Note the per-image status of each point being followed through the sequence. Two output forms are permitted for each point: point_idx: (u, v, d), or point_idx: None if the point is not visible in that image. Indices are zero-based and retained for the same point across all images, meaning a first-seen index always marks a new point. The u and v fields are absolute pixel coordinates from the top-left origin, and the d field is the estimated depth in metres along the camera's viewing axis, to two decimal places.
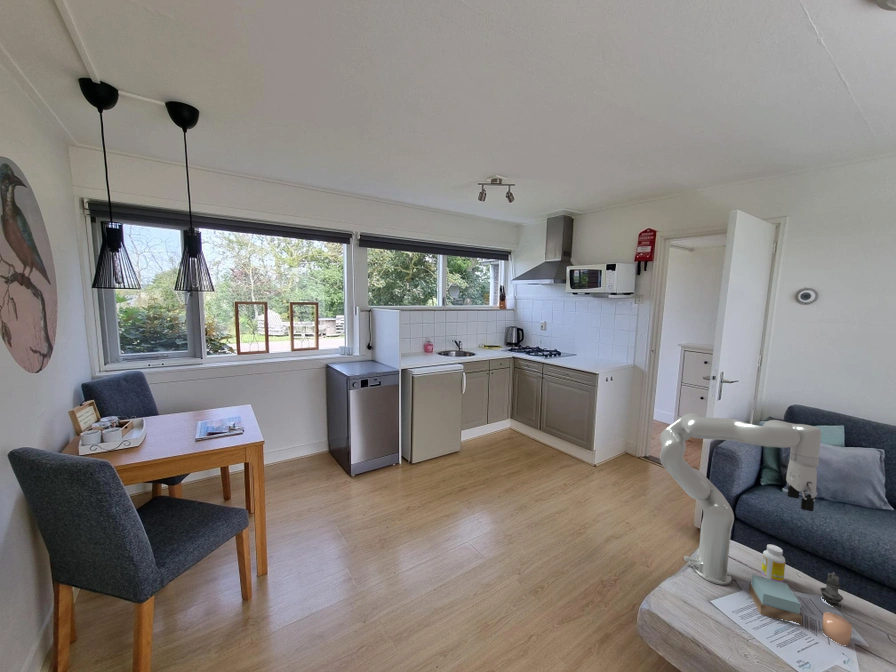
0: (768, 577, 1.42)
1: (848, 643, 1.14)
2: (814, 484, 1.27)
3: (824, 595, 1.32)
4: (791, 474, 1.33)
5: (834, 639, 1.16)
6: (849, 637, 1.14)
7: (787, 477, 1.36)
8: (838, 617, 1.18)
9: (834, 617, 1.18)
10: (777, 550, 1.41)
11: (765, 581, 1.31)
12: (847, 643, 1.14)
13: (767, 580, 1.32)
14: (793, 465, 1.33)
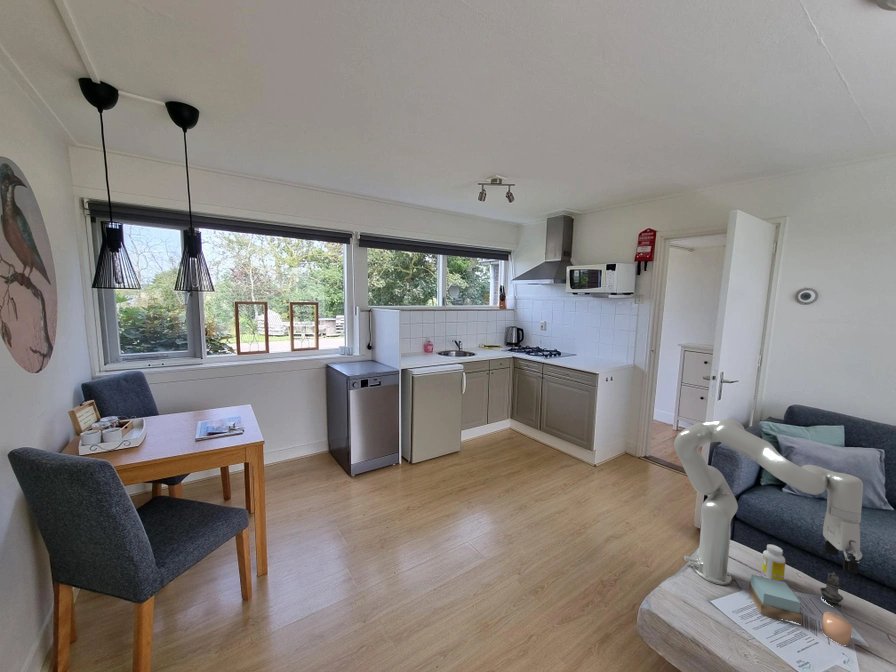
0: (768, 577, 1.42)
1: (848, 643, 1.14)
2: (858, 543, 1.12)
3: (824, 595, 1.32)
4: (829, 529, 1.19)
5: (834, 639, 1.16)
6: (849, 637, 1.14)
7: (824, 531, 1.22)
8: (838, 617, 1.18)
9: (834, 617, 1.18)
10: (777, 550, 1.41)
11: (765, 581, 1.31)
12: (847, 643, 1.14)
13: (766, 579, 1.32)
14: (831, 519, 1.18)
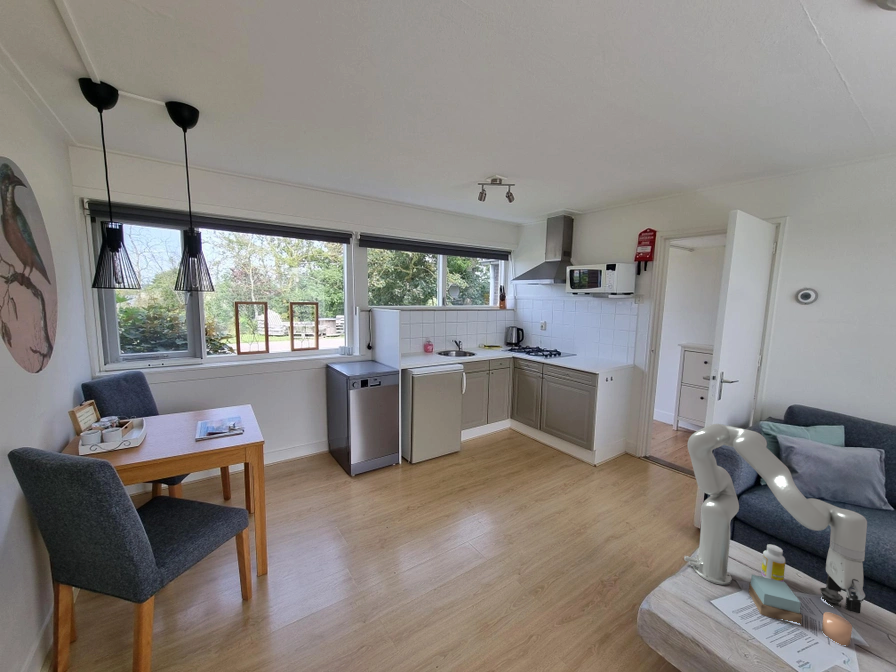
0: (768, 577, 1.42)
1: (848, 643, 1.14)
2: (861, 582, 1.11)
3: (824, 595, 1.32)
4: (832, 566, 1.18)
5: (834, 639, 1.16)
6: (849, 637, 1.14)
7: (827, 567, 1.20)
8: (838, 617, 1.18)
9: (834, 617, 1.18)
10: (777, 550, 1.41)
11: (765, 581, 1.31)
12: (847, 643, 1.14)
13: (766, 579, 1.32)
14: (834, 556, 1.17)
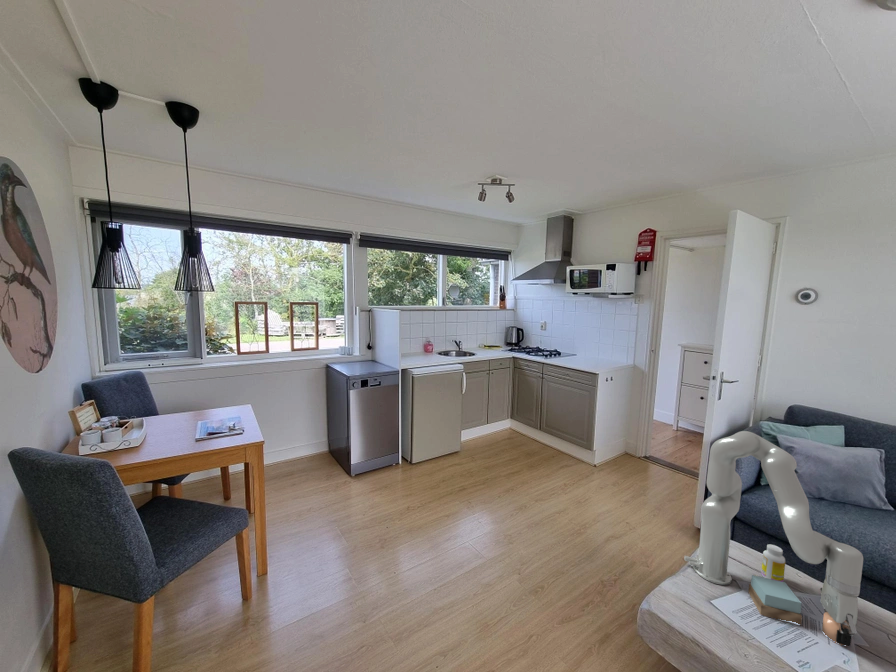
0: (768, 577, 1.42)
1: None
2: (855, 617, 1.12)
3: None
4: (827, 598, 1.19)
5: (834, 639, 1.16)
6: None
7: (822, 599, 1.21)
8: None
9: None
10: (777, 550, 1.41)
11: (765, 581, 1.31)
12: None
13: (766, 580, 1.32)
14: (829, 589, 1.18)
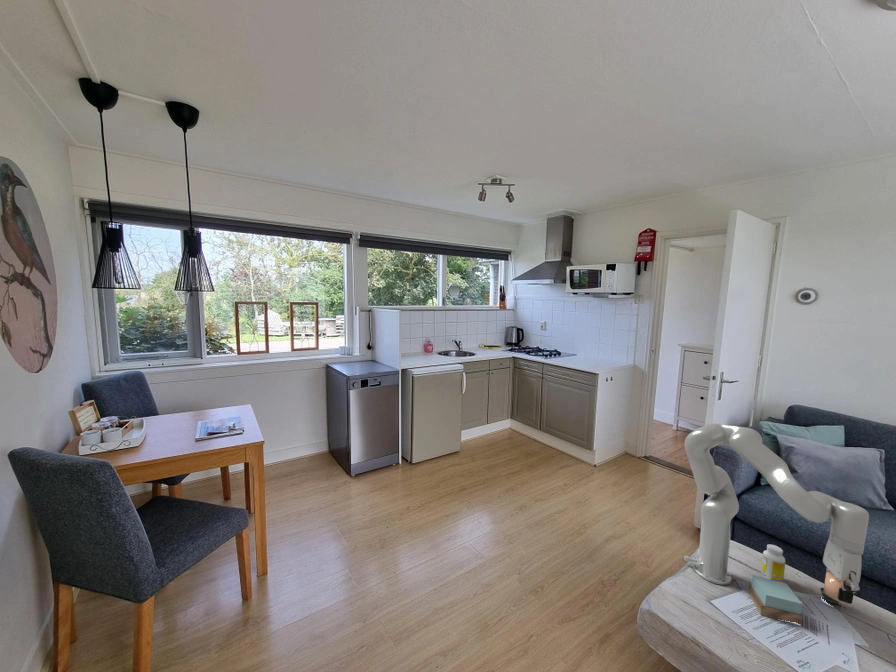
0: (768, 577, 1.42)
1: None
2: (858, 574, 1.11)
3: (824, 595, 1.32)
4: (830, 557, 1.18)
5: (836, 597, 1.15)
6: None
7: (824, 559, 1.21)
8: None
9: None
10: (777, 550, 1.41)
11: (766, 582, 1.31)
12: None
13: (767, 580, 1.32)
14: (833, 548, 1.17)
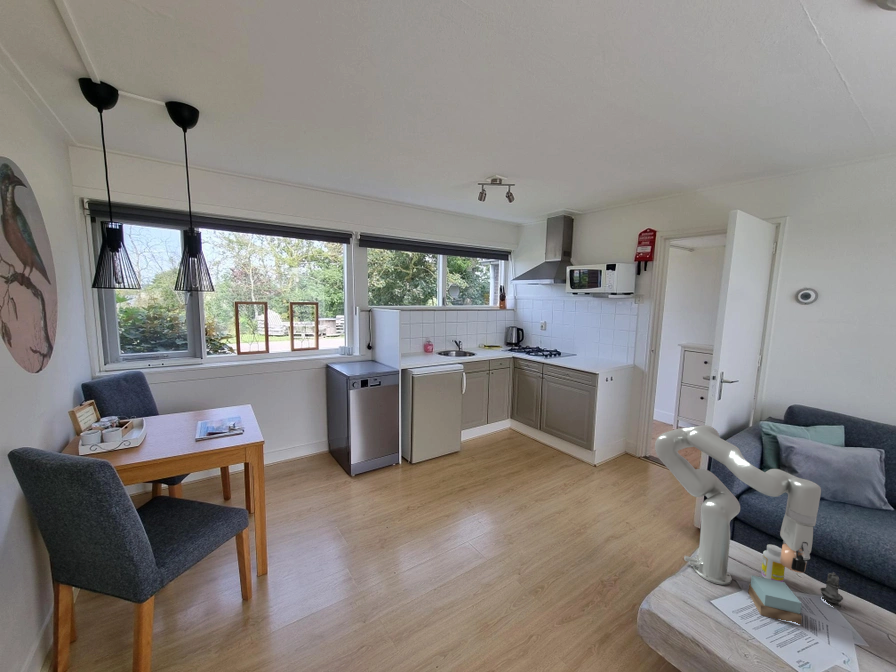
0: (768, 577, 1.42)
1: None
2: (809, 545, 1.19)
3: (824, 595, 1.32)
4: (786, 530, 1.26)
5: (790, 566, 1.23)
6: None
7: (781, 532, 1.28)
8: None
9: None
10: (777, 550, 1.41)
11: (765, 581, 1.31)
12: None
13: (766, 580, 1.32)
14: (788, 521, 1.25)
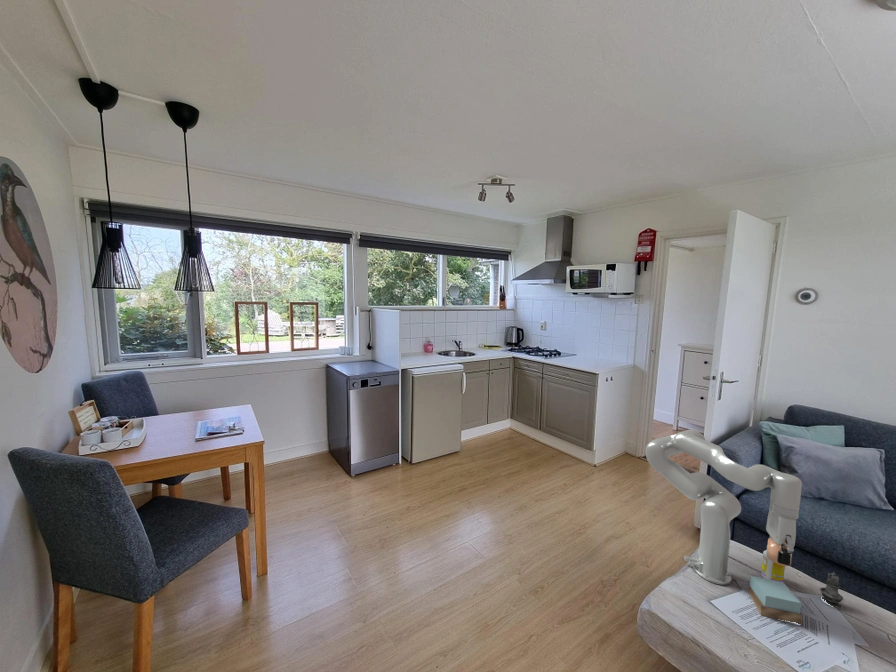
0: (768, 577, 1.42)
1: None
2: (793, 537, 1.22)
3: (824, 595, 1.32)
4: (771, 524, 1.28)
5: (776, 560, 1.25)
6: None
7: (767, 526, 1.31)
8: None
9: None
10: None
11: (764, 582, 1.31)
12: None
13: (765, 580, 1.32)
14: (773, 515, 1.27)
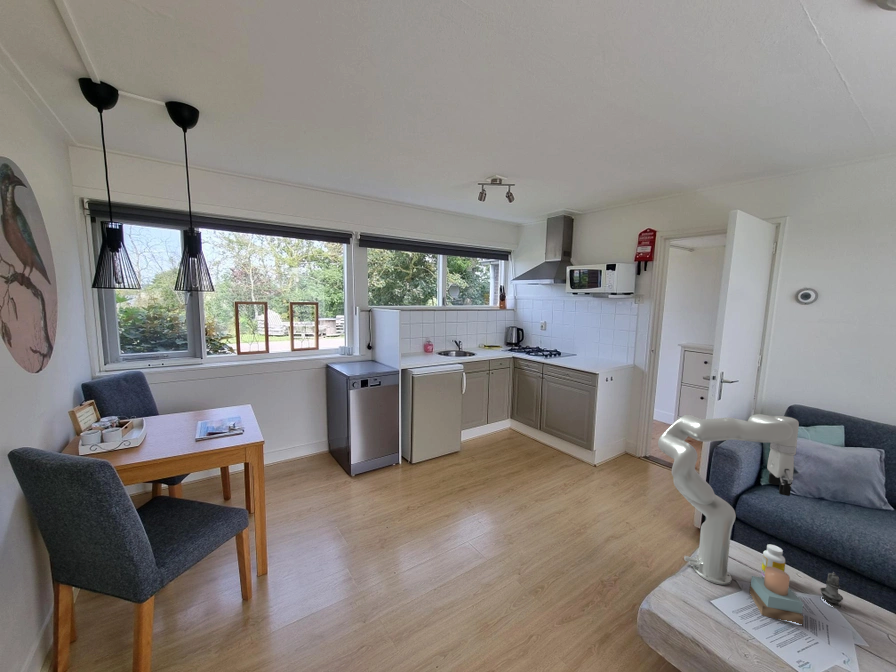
0: None
1: (786, 593, 1.25)
2: (791, 471, 1.37)
3: (824, 595, 1.32)
4: (771, 462, 1.44)
5: (773, 589, 1.26)
6: (786, 587, 1.25)
7: (768, 465, 1.47)
8: (778, 570, 1.29)
9: (774, 570, 1.29)
10: (777, 550, 1.41)
11: None
12: (784, 592, 1.25)
13: None
14: (773, 453, 1.43)
